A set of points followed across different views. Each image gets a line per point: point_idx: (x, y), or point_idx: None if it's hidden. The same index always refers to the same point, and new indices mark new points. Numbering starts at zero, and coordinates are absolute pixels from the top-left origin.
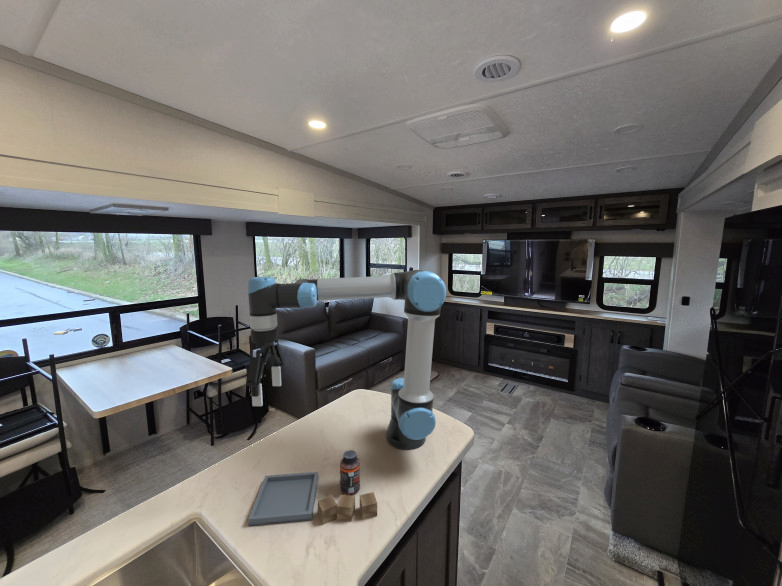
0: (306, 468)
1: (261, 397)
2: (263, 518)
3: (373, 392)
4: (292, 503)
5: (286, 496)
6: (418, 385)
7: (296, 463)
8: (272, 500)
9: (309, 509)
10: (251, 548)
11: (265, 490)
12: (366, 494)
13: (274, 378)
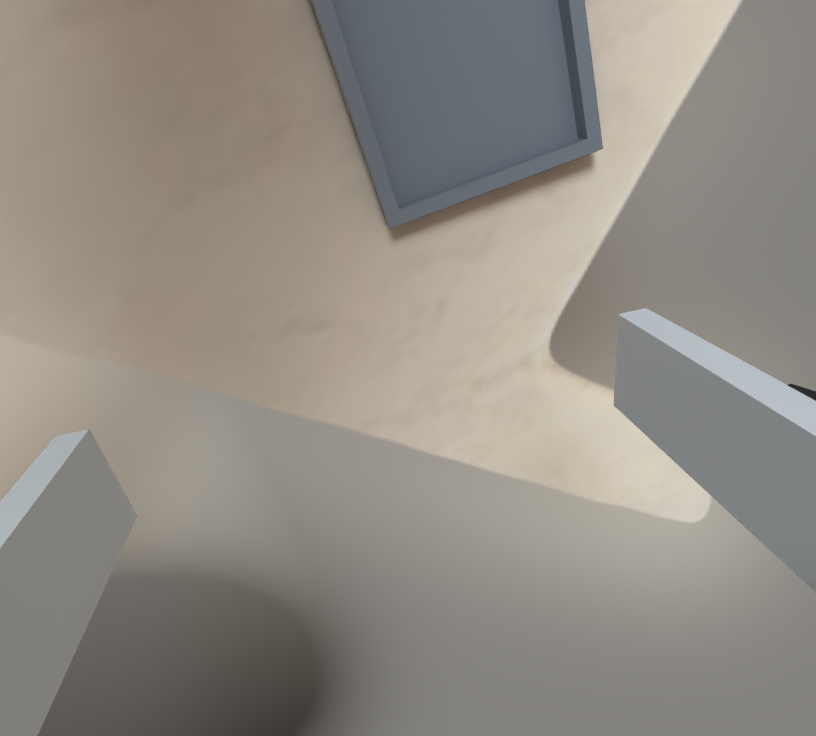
0: (255, 72)
1: (713, 350)
2: (595, 89)
3: None
4: (488, 16)
5: (456, 70)
6: None
7: (240, 149)
8: (484, 123)
9: None
10: (666, 77)
11: (441, 187)
12: None
13: (77, 579)
